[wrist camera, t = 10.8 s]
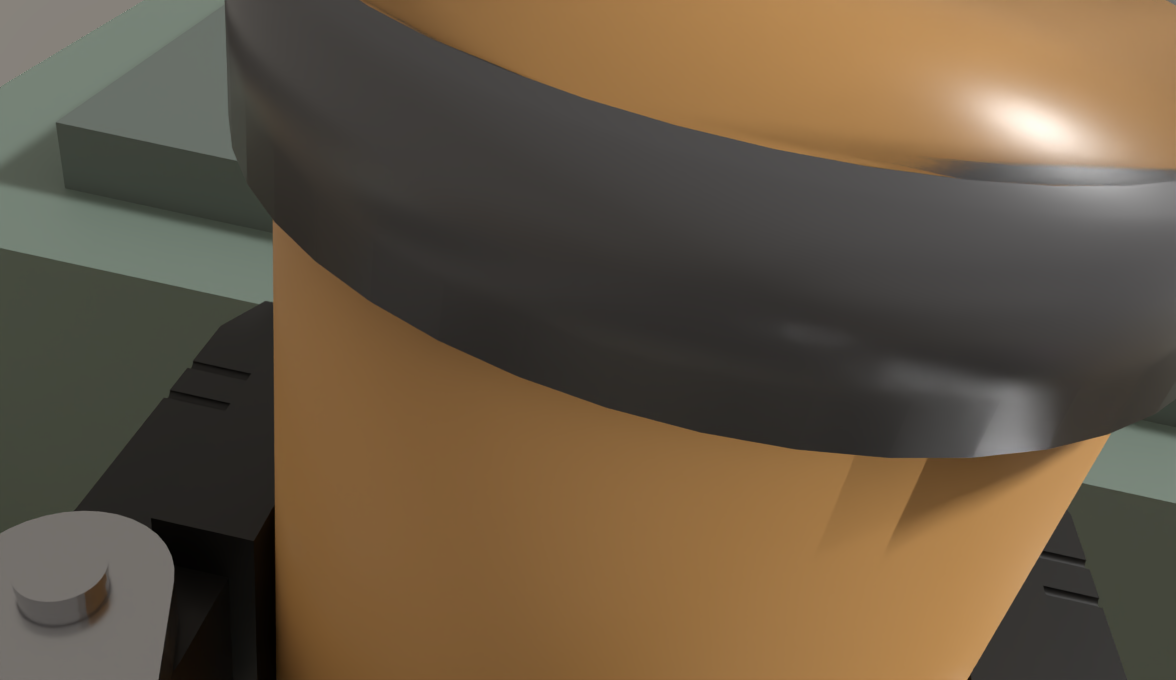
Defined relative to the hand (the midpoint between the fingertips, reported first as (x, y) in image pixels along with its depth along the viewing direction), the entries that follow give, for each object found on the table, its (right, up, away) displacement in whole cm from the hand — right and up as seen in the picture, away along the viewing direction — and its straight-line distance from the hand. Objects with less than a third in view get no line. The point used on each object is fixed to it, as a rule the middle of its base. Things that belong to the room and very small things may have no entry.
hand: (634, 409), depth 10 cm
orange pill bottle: (-1, -6, +1) cm, 7 cm away
